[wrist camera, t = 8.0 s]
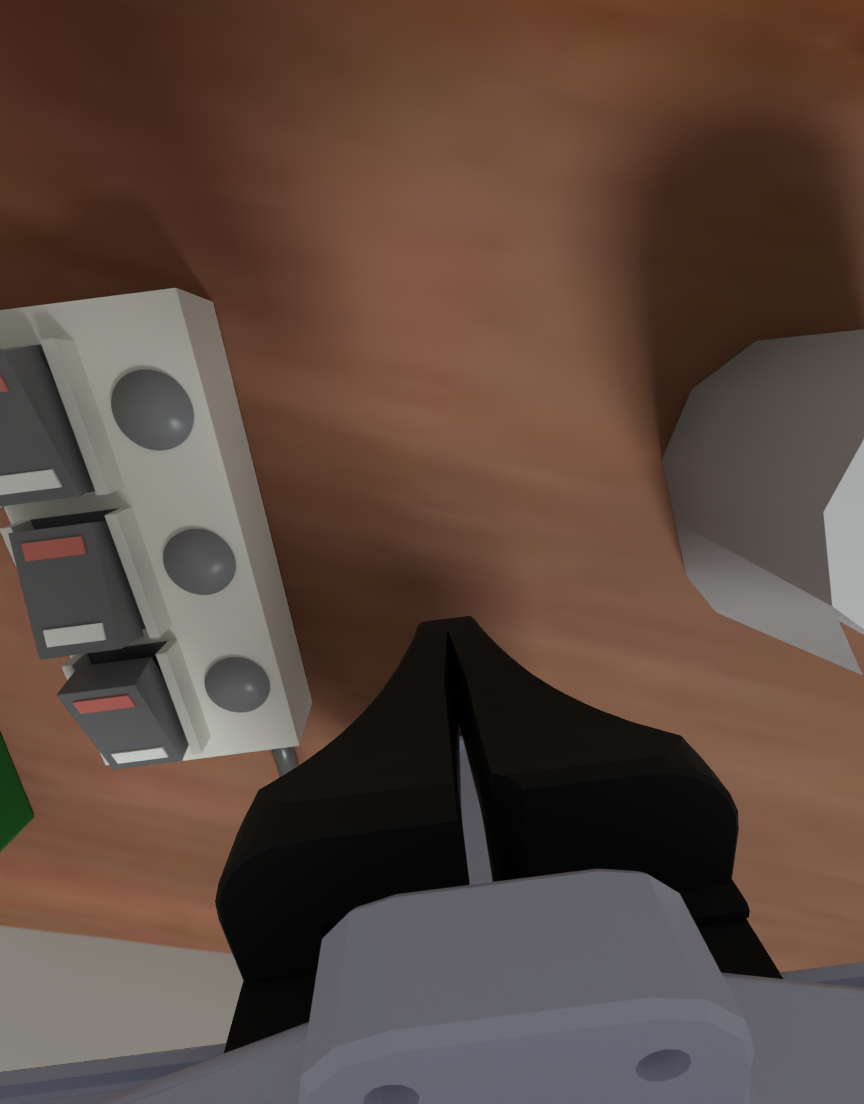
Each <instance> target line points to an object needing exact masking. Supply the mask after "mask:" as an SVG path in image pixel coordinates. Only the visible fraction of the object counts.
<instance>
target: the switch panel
mask: <svg viewBox="0 0 864 1104" xmlns="http://www.w3.org/2000/svg"><path fill="white" fill-rule="evenodd" d="M30 345H36V346H37V348H38V350H39V352H40V354H41V356H42V358H43V360H44V362H45V364H46V366H47V368H48V370H49V372H50V374H51V376H52V378H53V380H54V382H55V384H56V386H57V388H58V391H59V394H60V396H61V399H62V402H63V405H64V407H65V410H66V413H67V415H68V418H69V421H70V424H71V426H72V429H73V432H74V434H75V437H76V440H77V443H78V445H79V448H80V451H81V453H82V456H83V459H84V462H85V464H86V467H87V470H88V472H89V475H90V478H91V481H92V483H93V486H94V487H93V488H91V489H90V490H89V491H87V492H86V493H85V494H83V495H82V496H79V497H71V498H63V499H55V500H47V501H39V502H32V503H24V504H16V505H8V506H0V508H2V507H4V509H5V511H6V513H7V516H8V518H9V520H10V522H11V525H8V526H5V527H3V528H0V532H1V534H2V536H3V539H4V541H5V543H6V545H7V547H8V550H9V552H10V554H11V556H12V559H13V561H14V563H15V559H14V555H13V551H12V547H11V543H10V539H9V535H8V533H14V532H22V531H30V530H37V529H45V528H53V527H61V526H69V525H77V524H84V523H92V522H101V521H107V524H108V527H109V529H110V532H111V535H112V538H113V540H114V543H115V546H116V548H117V551H118V554H119V557H120V559H121V562H122V565H123V567H124V570H125V573H126V576H127V578H128V581H129V584H130V586H131V589H132V592H133V595H134V597H135V600H136V603H137V608H138V612H139V617H140V621H141V626H142V630H143V635H144V636H143V637H142V638H140V639H138V640H136V641H134V642H132V643H131V644H129V645H127V646H125V647H123V648H121V649H117V650H109V651H101V652H93V653H85V654H78V655H70V660H68V661H67V662H66V663H65V664H64V665H62V666H61V667H62V669H63V672H64V674H65V676H66V678H67V680H68V679H69V678H70V677H71V676H72V674H73V673H74V672H75V670H76V669H77V668H78V666H86V665H93V664H101V663H109V662H117V661H125V660H133V659H140V658H148V657H152V659H153V660H154V662H155V664H156V666H157V667H158V669H159V671H160V673H161V674H162V676H163V678H164V680H165V681H166V684H167V687H168V690H169V692H170V695H171V698H172V700H173V703H174V706H175V709H176V711H177V714H178V717H179V719H180V722H181V725H182V728H183V730H184V733H185V736H186V739H187V741H188V744H189V746H188V748H187V750H186V753H185V755H184V758H183V760H182V761H184V760H192V759H200V758H207V757H215V756H223V755H231V754H239V753H246V752H254V751H262V750H270V749H272V752H273V755H274V759H275V762H276V766H277V769H278V772H279V776H280V777H281V776H283V775H285V774H286V773H288V772H290V771H291V770H293V769H294V768H296V767H298V766H299V765H298V762H297V758H296V754H295V751H294V747H293V746H299V745H300V742H301V738H302V735H303V732H304V728H305V725H306V722H307V718H308V715H309V712H310V708H311V705H312V699H311V695H310V691H309V687H308V683H307V679H306V675H305V671H304V667H303V663H302V659H301V655H300V651H299V647H298V643H297V639H296V635H295V631H294V627H293V623H292V619H291V615H290V611H289V607H288V603H287V599H286V595H285V591H284V587H283V583H282V579H281V574H280V570H279V566H278V562H277V558H276V554H275V550H274V546H273V542H272V538H271V534H270V530H269V526H268V522H267V518H266V514H265V510H264V506H263V502H262V498H261V494H260V490H259V486H258V482H257V478H256V474H255V470H254V466H253V462H252V458H251V454H250V449H249V445H248V441H247V437H246V433H245V429H244V425H243V421H242V417H241V413H240V409H239V405H238V401H237V397H236V393H235V389H234V385H233V381H232V377H231V373H230V369H229V365H228V361H227V357H226V353H225V349H224V345H223V341H222V337H221V333H220V329H219V324H218V320H217V316H216V312H215V308H214V304H213V302H212V301H209V300H207V299H204V298H202V297H199V296H196V295H194V294H191V293H188V292H186V291H183V290H181V289H178V288H170V289H162V290H154V291H147V292H139V293H131V294H123V295H115V296H108V297H100V298H92V299H84V300H76V301H68V302H61V303H53V304H45V305H37V306H29V307H21V308H14V309H6V310H0V349H6V348H14V347H22V346H30ZM15 565H16V563H15ZM100 754H101V753H100ZM101 756H102V758H103V760H104V762H105V765H110V764H109V763H108V762H107V760H106V759H105V758H104V757H103V755H102V754H101ZM152 765H153V764H152Z"/></svg>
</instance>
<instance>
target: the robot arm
mask: <svg viewBox="0 0 864 1104" xmlns="http://www.w3.org/2000/svg"><path fill="white" fill-rule="evenodd" d="M459 725H460V729H461V733H462V736H459ZM738 830H739V827H738V810H737V808H736V806H735V803H734V801H733V799H732V797H731V795H730V793H729V792H728V790H727V789H726V788H725V786H724V785H723V784H722V783H721V781H720V780H719V779H718V777H717V776H716V775H715V773H714V772H713V771H712V770H711V769H710V767H709V766H708V765H707V764H706V763H705V761H704V760H703V759H702V758H701V757H700V756H699V755H698V754H697V753H696V751H695V750H694V749H693V748H692V747H691V746H690V745H689V744H688V743H687V742H686V741H685V740H684V738H683V737H682V736H680V735H676V734H673V733H669V732H666V731H662V730H659V729H655V728H651V727H648V726H644V725H641V724H637V723H634V722H631V721H628V720H625V719H622V718H619V717H617V716H614V715H611V714H609V713H606V712H603V711H601V710H599V709H596V708H594V707H591V706H589V705H587V704H585V703H583V702H581V701H578V700H576V699H574V698H572V697H570V696H568V695H566V694H564V693H562V692H561V691H559V690H557V689H555V688H553V687H552V686H550V685H548V684H547V683H545V682H544V681H542V680H540V679H539V678H537V677H536V676H534V675H533V674H531V673H530V672H529V671H527V670H526V669H525V668H523V667H522V666H521V665H520V664H518V663H517V662H516V661H515V660H514V659H512V658H511V657H510V656H509V655H508V654H507V653H506V652H505V651H503V650H502V649H501V648H500V647H499V646H498V645H497V644H496V643H495V642H494V641H493V640H492V639H491V638H490V637H489V636H488V635H487V634H486V633H485V632H484V630H483V629H482V628H481V627H480V626H479V625H478V623H477V622H476V621H475V619H473V618H472V617H471V616H466V617H458V618H450V619H442V620H434V621H426V622H421V623H420V624H419V626H418V627H417V630H416V633H415V635H414V637H413V640H412V642H411V644H410V646H409V648H408V650H407V652H406V653H405V655H404V657H403V659H402V661H401V662H400V664H399V666H398V667H397V669H396V671H395V672H394V674H393V675H392V676H391V678H390V679H389V681H388V682H387V684H386V685H385V687H384V688H383V690H382V691H381V692H380V693H379V695H378V696H377V697H376V698H375V700H374V701H373V702H372V703H371V704H370V706H369V707H368V708H367V709H366V710H365V711H364V712H363V714H361V715H360V716H359V717H358V718H357V719H356V720H355V721H354V722H353V723H352V724H351V725H350V726H349V727H348V728H347V729H346V730H345V731H343V732H342V733H341V734H340V735H339V736H338V737H337V738H335V739H334V740H333V741H332V742H330V743H329V744H328V745H327V746H325V747H324V748H323V749H322V750H320V751H319V752H317V753H316V754H315V755H313V756H312V757H311V758H309V759H308V760H306V761H305V762H304V763H302V764H301V765H299V766H298V767H296V768H294V769H293V770H291V771H290V772H288V773H286V774H285V775H283V776H281V777H280V778H278V779H277V780H275V781H273V782H272V783H270V784H269V785H267V786H265V787H263V788H262V789H260V790H259V791H258V792H257V794H256V797H255V799H254V801H253V803H252V805H251V807H250V808H249V810H248V812H247V814H246V816H245V818H244V820H243V822H242V825H241V827H240V829H239V831H238V833H237V836H236V839H235V841H234V844H233V846H232V849H231V852H230V854H229V857H228V860H227V862H226V865H225V868H224V870H223V873H222V876H221V878H220V881H219V884H218V890H217V895H216V900H215V903H216V908H217V913H218V918H219V921H220V924H221V926H222V929H223V931H224V934H225V936H226V939H227V941H228V944H229V946H230V948H231V951H232V953H233V956H234V958H235V961H236V963H237V966H238V968H239V970H240V973H241V975H242V978H243V980H244V981H243V985H242V988H241V992H240V996H239V999H238V1003H237V1007H236V1010H235V1014H234V1018H233V1021H232V1025H231V1028H230V1032H229V1036H228V1039H227V1043H226V1044H217V1045H209V1046H201V1047H193V1048H185V1049H179V1050H170V1051H162V1052H155V1053H147V1054H140V1055H131V1056H123V1057H115V1058H107V1059H99V1060H92V1061H84V1062H76V1063H68V1064H61V1065H53V1066H45V1067H37V1068H29V1069H21V1070H13V1071H5V1072H0V1104H864V962H859V963H851V964H843V965H835V966H827V967H819V968H812V969H804V970H796V971H788V972H779V971H778V969H777V968H776V966H775V964H774V963H773V961H772V960H771V958H770V956H769V955H768V953H767V952H766V950H765V948H764V947H763V945H762V943H761V942H760V940H759V939H758V937H757V935H756V934H755V932H754V931H753V929H752V927H751V926H750V924H749V923H748V921H747V919H746V918H749V912H750V910H749V907H748V904H747V902H746V900H745V899H744V897H743V896H742V894H741V893H740V891H739V889H738V888H737V886H736V885H735V883H734V882H733V880H732V874H733V867H734V859H735V852H736V845H737V837H738Z"/></svg>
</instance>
